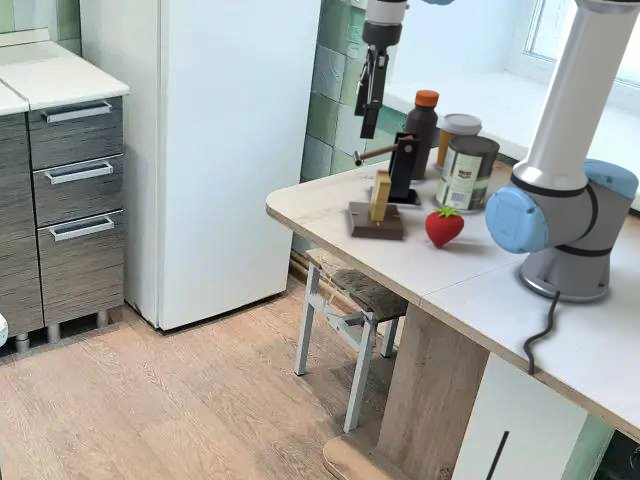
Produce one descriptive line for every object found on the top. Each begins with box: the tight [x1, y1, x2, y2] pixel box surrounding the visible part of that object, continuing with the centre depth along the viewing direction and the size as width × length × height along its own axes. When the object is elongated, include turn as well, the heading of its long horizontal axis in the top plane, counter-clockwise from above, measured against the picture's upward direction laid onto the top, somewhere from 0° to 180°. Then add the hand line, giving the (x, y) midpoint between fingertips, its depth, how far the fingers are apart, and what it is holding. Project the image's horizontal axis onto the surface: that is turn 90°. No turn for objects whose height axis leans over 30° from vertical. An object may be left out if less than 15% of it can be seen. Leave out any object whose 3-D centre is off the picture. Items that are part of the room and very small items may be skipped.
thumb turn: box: [369, 169, 391, 221], centre depth 166 cm, size 6×2×9 cm, turn 173°
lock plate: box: [347, 201, 405, 241], centre depth 169 cm, size 12×10×3 cm
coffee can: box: [435, 135, 501, 211], centre depth 175 cm, size 10×10×14 cm
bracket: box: [369, 130, 421, 206], centre depth 176 cm, size 10×8×15 cm
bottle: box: [403, 89, 440, 182], centre depth 184 cm, size 7×7×20 cm
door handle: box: [352, 135, 413, 167], centre depth 174 cm, size 13×6×2 cm, turn 82°
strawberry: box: [424, 204, 465, 249], centre depth 159 cm, size 6×8×10 cm
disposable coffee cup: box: [436, 112, 483, 169], centre depth 192 cm, size 10×10×12 cm
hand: (363, 126), depth 172 cm, fingers open, 13 cm apart
